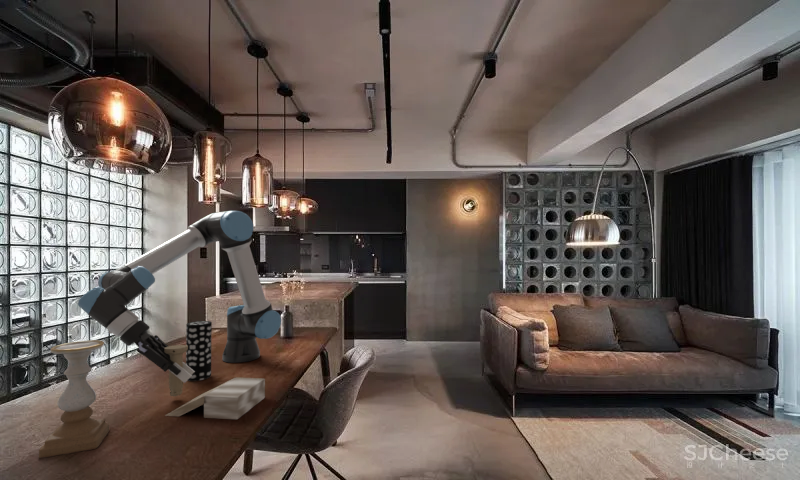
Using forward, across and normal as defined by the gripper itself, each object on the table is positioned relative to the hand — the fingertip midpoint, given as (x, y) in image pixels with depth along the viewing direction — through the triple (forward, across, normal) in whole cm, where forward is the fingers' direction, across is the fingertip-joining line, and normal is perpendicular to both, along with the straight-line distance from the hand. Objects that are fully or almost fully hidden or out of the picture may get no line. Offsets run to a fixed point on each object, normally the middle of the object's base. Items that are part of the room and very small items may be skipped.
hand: (189, 376), depth 123 cm
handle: (+1, 0, -6) cm, 7 cm away
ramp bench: (+13, +10, +1) cm, 16 cm away
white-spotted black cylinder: (+4, -22, -6) cm, 23 cm away
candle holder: (-10, +23, -19) cm, 32 cm away
